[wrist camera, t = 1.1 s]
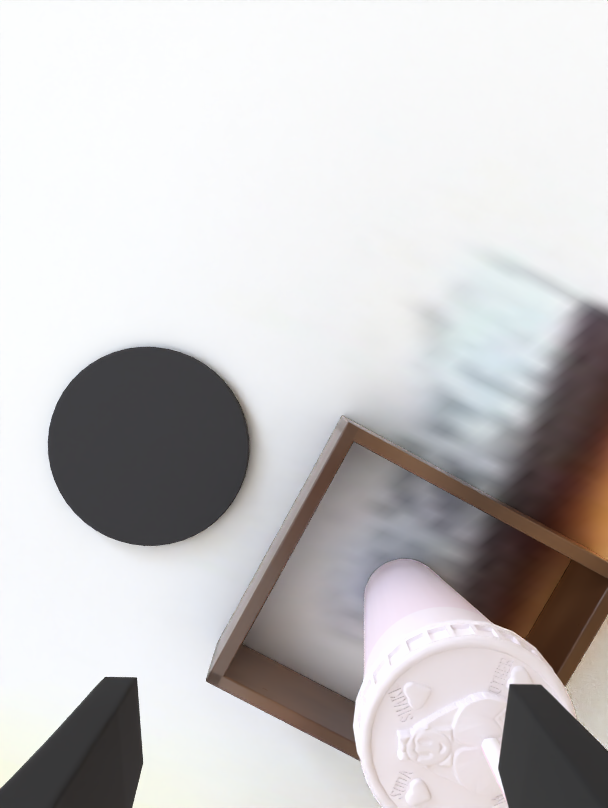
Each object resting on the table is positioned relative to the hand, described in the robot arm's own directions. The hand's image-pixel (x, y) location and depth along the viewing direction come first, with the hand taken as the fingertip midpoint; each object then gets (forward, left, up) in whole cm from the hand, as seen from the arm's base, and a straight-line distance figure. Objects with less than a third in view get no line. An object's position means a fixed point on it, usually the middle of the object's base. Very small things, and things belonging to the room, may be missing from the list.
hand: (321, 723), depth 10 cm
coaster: (+7, +3, -14) cm, 16 cm away
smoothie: (-6, -1, -14) cm, 15 cm away
